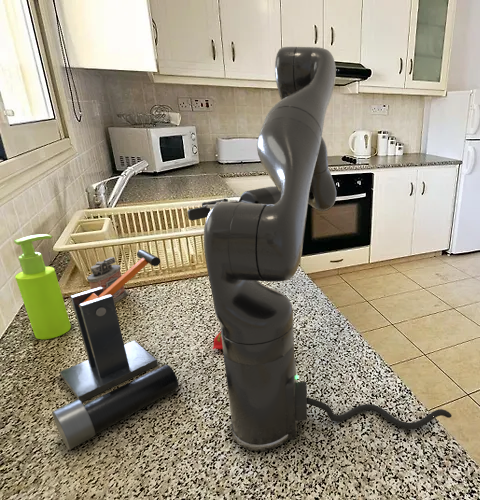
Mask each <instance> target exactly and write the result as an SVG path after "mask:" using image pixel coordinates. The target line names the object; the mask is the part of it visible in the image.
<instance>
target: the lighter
mask: <svg viewBox="0 0 480 500" xmlns="http://www.w3.org/2000/svg"><path fill="white" fill-rule="evenodd" d="M115 263H116V258H115V257H114V256H110V257H107V258H106V259H104V260H103V261H96V262H95V264H94V265H92V266H91V267H90V272H92V273H91V274H90V275H88V276H87V277H86V279H87V282H89V286H90V287H89V288H90V290H92V289H95V288H98V287H102V288H103V291H105V290H106V289H107V288H108V287H109V286H111V285H112V284H113V283H114V282H115V281H116V280H117V279H119V278H120V277H121V276H122V273H121V270H122V267H121V265H120V264H115ZM112 296H113V299H114V304H115V303H117V302H119V301H120V300H121V299H123V298H124V297H125V296H127V291H126V290H125V285H123V286H122V287H121V288H120V289H119V290H118V291H117V292H116V293H114V294H113V295H112Z"/></svg>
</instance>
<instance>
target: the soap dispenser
mask: <svg viewBox="0 0 480 500" xmlns="http://www.w3.org/2000/svg"><path fill="white" fill-rule="evenodd" d="M52 238H53V235H51V234H48V233H42V234H41V233H40V234H39V233H38V234H32V235H28V236H24V237H21V238H17V239H14V240H13V242H14V244H15V245H17V246H20V248H21V251H22V254H21V255H19V256H18V262H19V265H20V268H21V270H22V271H20V272H18V273H16V275H15V277H14V278H15V281H16V284H17V287H18V290H19V292H20V293H19V294H20V295H21V298H22V302H23V304H24V307H25V311H26V314H27V317H28V320H29V322H30V325H31V329H32V332H33V335H34V338H35V339H37V340H49V339H50V340H51V339H54V338H58V337H60V336H63V335H64V334H66V333H68V332H69V331H70V330H71V328H72V324H71V321H70V318H69V314H68V311H67V307H66V303H65V300H64V297H63V294H62V290H61V286H60V283H59V280H58V276H57V272H56V269H55V268H54V267H53V266H46V263H45V261H44V258H43V254H42V252H38V251H36V250H35V247H34V245H33V242H36V241H41V240H50V239H52Z"/></svg>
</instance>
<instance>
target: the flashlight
mask: <svg viewBox="0 0 480 500" xmlns="http://www.w3.org/2000/svg"><path fill="white" fill-rule="evenodd" d="M178 380H179V379H178V377H177V375H176V373H175V371H174V370H173V368H172V367H171V366H170V365H169V364H167V363H166V364H164V365H162V366H160V367H158V368H156V369H153V370H151V371H148V373H145V374H144V375H141V376H139V377H137V378H135V379H134V380H131V381H129V382H127V383H126V384H125V383H124V384H123V385H121V386H119V387H117V388H115V389H113V390H111V391H109V392H107V393H105V394H103V395H101V396H99V397H97V398H95V399H93V400H91V401H89V402H87V403H85V404H84V403H83V402H81V401H80V400H79V399H77V398H76V399H75V400H74V401H71V402H69V403H67V404H65V405H63V406H61V407H59V408H56V409H54V410H53V411H52V412H51V413H52V418H53V421H54V423H55V427H56V429H57V431H58V434H59V435H60V439H61V440H62V442H63V444H64V446H65V447H66V449H67V450H68V451H70V450H73V449H74V448H76V447H77V446H80V445H81V444H83V443H85V442H87V441H88V440H91V439H92V438H93V437H95V436H96V435H97V434H99V433H100V432H103V431H104V430H106V429H108V428H109V427H111V426H113V425H115V424H117V423H118V422H120V421H122V420H123V419H126V418H127V417H129V416H131V415H133V414H135V413H137V412H138V411H140V410H142V409H143V408H145V407H147V406H149V405H150V404H153V403H155V402H156V401H158V400H159V399H162V398H163V397H165V396H168V394H171V393H172V392H174V391H176V390H177V389H178V388H179V381H178Z"/></svg>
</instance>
